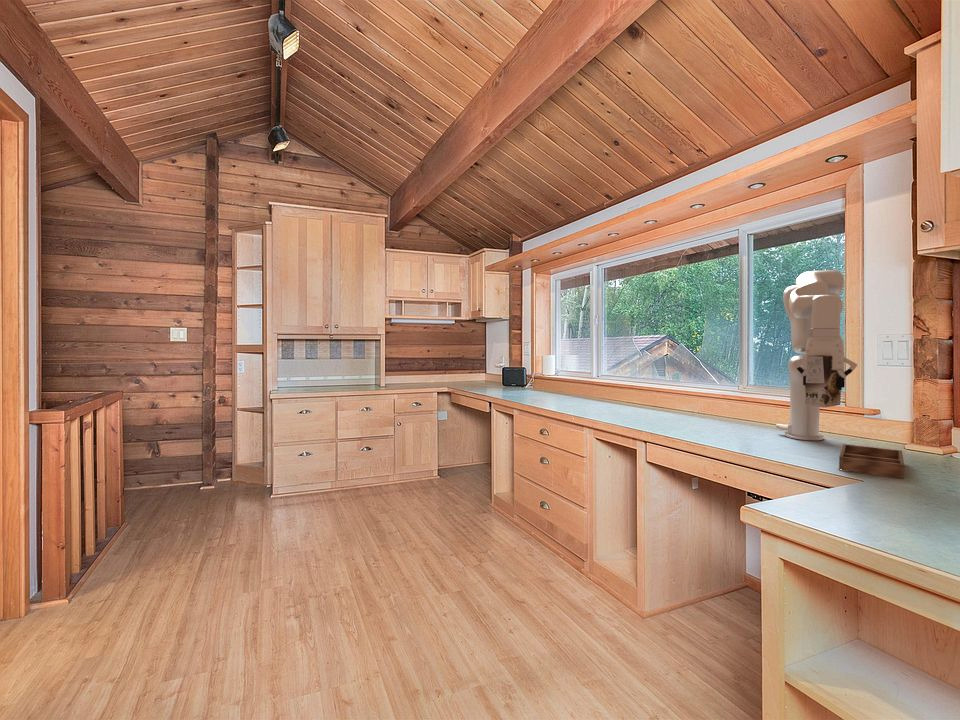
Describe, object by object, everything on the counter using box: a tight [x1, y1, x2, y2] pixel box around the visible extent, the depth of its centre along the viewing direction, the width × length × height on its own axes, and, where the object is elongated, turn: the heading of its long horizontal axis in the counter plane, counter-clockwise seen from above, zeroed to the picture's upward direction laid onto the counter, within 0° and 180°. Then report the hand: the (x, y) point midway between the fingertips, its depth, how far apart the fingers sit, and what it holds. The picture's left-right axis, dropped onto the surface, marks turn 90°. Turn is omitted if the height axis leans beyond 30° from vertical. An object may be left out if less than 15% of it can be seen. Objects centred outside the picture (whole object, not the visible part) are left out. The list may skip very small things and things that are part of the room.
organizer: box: [838, 443, 905, 480], centre depth 149 cm, size 15×20×4 cm
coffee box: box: [805, 355, 842, 408], centre depth 157 cm, size 9×6×16 cm
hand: (823, 388), depth 157 cm, fingers closed on coffee box, 8 cm apart
